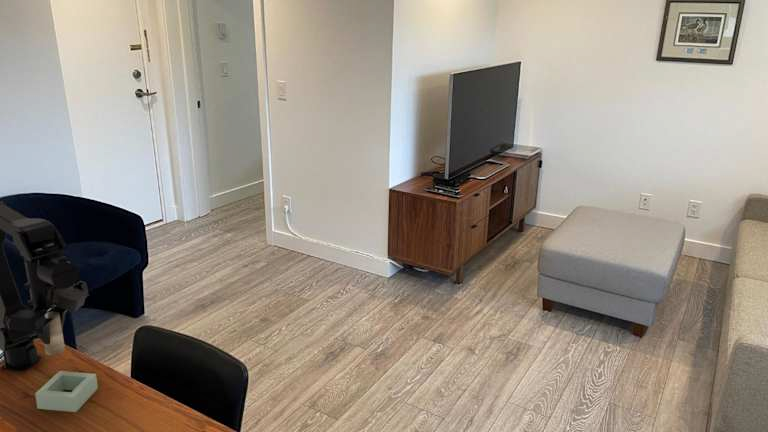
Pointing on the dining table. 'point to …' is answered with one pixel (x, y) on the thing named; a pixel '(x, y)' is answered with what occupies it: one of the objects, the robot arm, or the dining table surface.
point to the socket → (66, 401)
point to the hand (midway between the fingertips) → (53, 339)
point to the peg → (55, 335)
